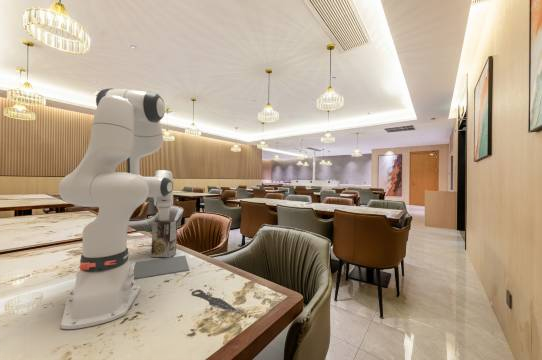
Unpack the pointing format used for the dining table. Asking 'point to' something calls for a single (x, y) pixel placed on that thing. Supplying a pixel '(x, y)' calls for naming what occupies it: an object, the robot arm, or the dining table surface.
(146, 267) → the mat
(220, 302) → the throwing knife
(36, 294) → the dining table surface
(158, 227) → the coffee box
